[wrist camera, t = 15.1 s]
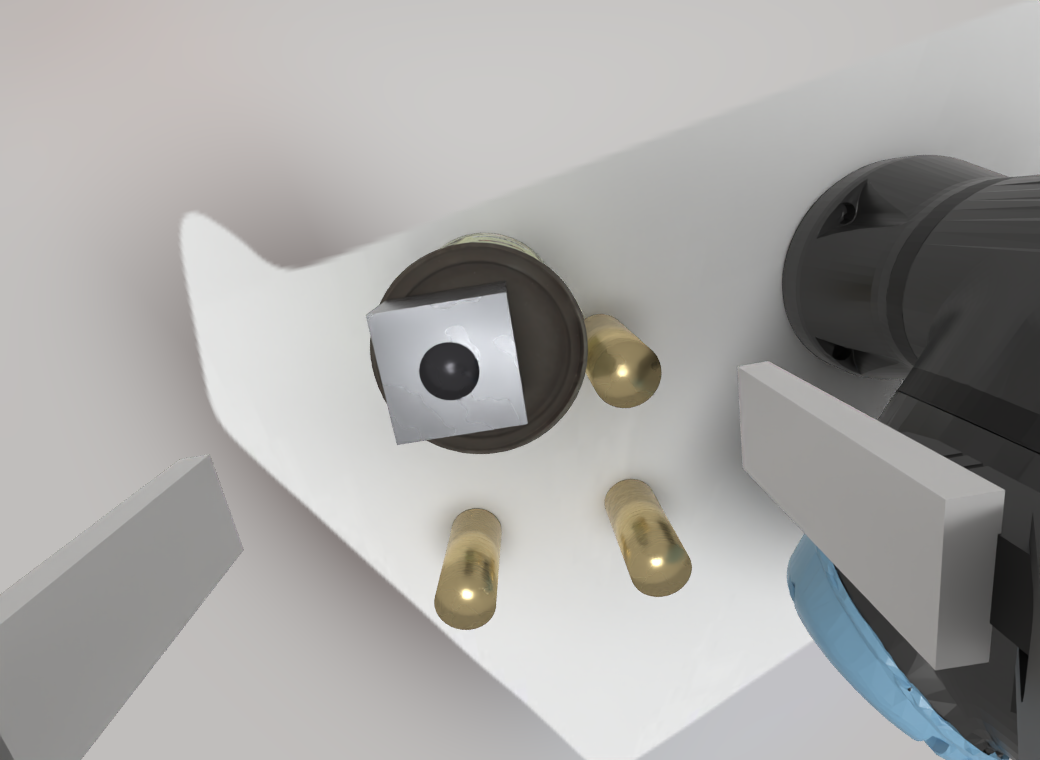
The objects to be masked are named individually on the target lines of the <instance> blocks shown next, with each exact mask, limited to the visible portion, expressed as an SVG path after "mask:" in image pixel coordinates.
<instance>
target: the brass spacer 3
mask: <svg viewBox="0 0 1040 760" xmlns="http://www.w3.org/2000/svg"><path fill="white" fill-rule="evenodd" d="M605 509H606V511H607V514H608V517H609V520H610V522H611V525H612V528H613V530H614V533H615V536H616V539H617V541H618V544H619V547H620V550H621V552H622V555H623V558H624V560H625V563H626V566H627V569H628V571H629V574H630V577H631V580H632V582H633V584H634V586H635V587H636V588H637V589H638V590H639V591H640V592H642V593H644V594H646V595H649V596H654V597H662V596H668V595H671V594H673V593H675V592H677V591H678V590H680V589H681V588H682V587H683V586H684V585H685V584H686V583H687V581H688V580H689V578H690V575H691V571H692V565H691V560H690V558H689V556H688V554H687V552H686V551H685V549H684V547H683V545H682V543H681V542H680V540H679V538H678V536H677V534H676V533H675V531H674V529H673V527H672V526H671V524H670V522H669V520H668V518H667V517H666V515H665V513H664V511H663V509H662V508H661V506H660V504H659V502H658V500H657V499H656V497H655V495H654V493H653V492H652V490H651V488H650V487H649V486H648V485H647V484H646V483H644V482H642V481H640V480H635V479H627V480H623V481H620V482H618V483H617V484H615V485H614V486H613V487H612V488H611V489H610V490H609V491H608V493H607V495H606V498H605Z"/></svg>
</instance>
